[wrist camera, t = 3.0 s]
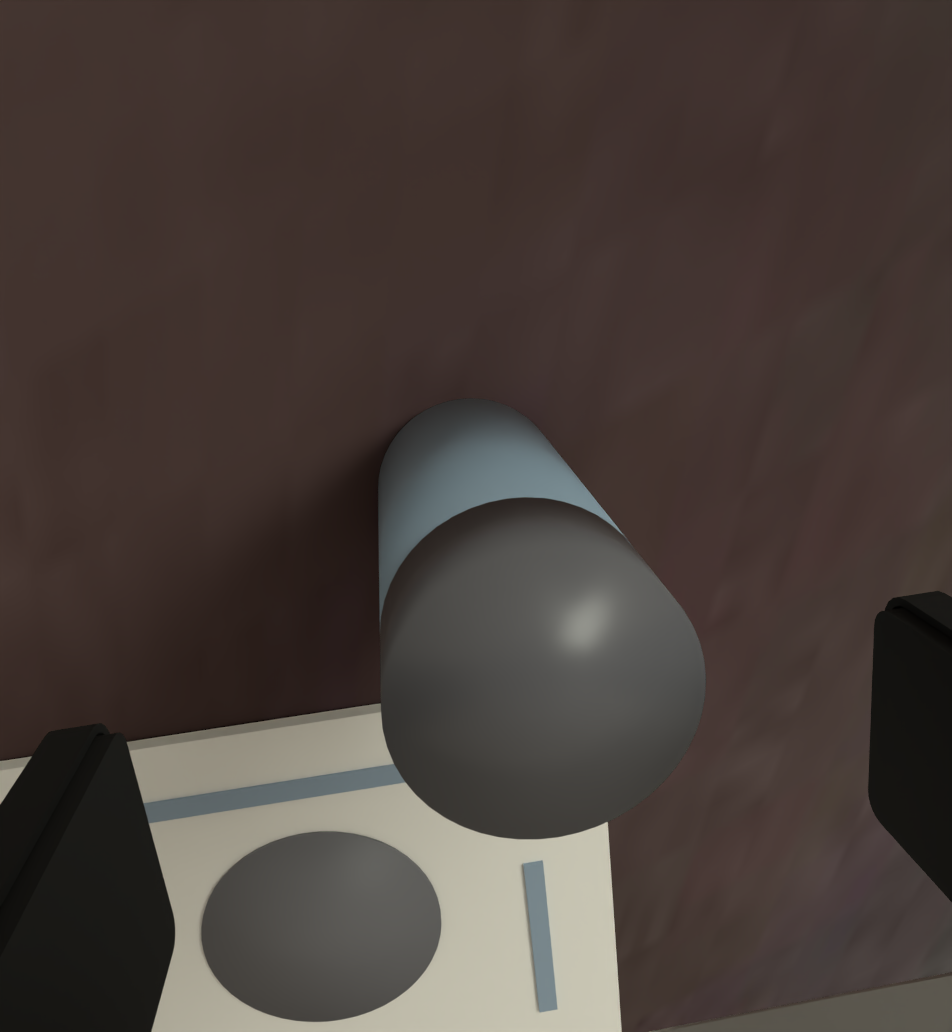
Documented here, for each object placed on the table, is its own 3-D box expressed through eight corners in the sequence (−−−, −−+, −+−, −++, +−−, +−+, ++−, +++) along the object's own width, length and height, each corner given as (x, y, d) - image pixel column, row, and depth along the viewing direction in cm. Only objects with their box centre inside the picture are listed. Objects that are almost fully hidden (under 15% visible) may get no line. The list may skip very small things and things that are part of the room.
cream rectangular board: (593, 670, 21) (599, 681, 20) (618, 1035, 25) (623, 1051, 24) (-46, 768, 20) (-57, 781, 19) (88, 1132, 24) (82, 1151, 23)
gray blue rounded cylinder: (551, 387, 18) (702, 527, 10) (564, 559, 20) (708, 812, 11) (365, 410, 18) (357, 576, 10) (391, 583, 19) (404, 862, 11)
